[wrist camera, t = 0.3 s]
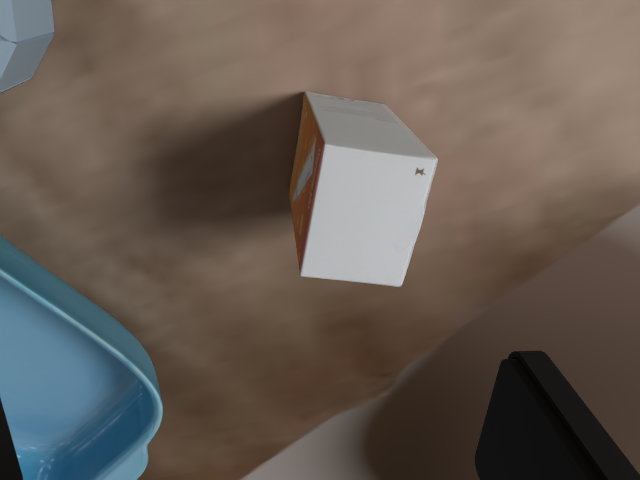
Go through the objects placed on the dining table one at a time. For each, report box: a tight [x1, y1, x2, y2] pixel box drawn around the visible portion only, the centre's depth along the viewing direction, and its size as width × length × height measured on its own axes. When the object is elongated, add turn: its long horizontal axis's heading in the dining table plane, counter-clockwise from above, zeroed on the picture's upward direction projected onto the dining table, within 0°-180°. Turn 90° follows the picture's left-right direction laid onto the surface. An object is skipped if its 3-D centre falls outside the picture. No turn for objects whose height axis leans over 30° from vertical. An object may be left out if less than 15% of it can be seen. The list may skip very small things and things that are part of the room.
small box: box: [289, 92, 438, 287], centre depth 34 cm, size 8×6×13 cm
